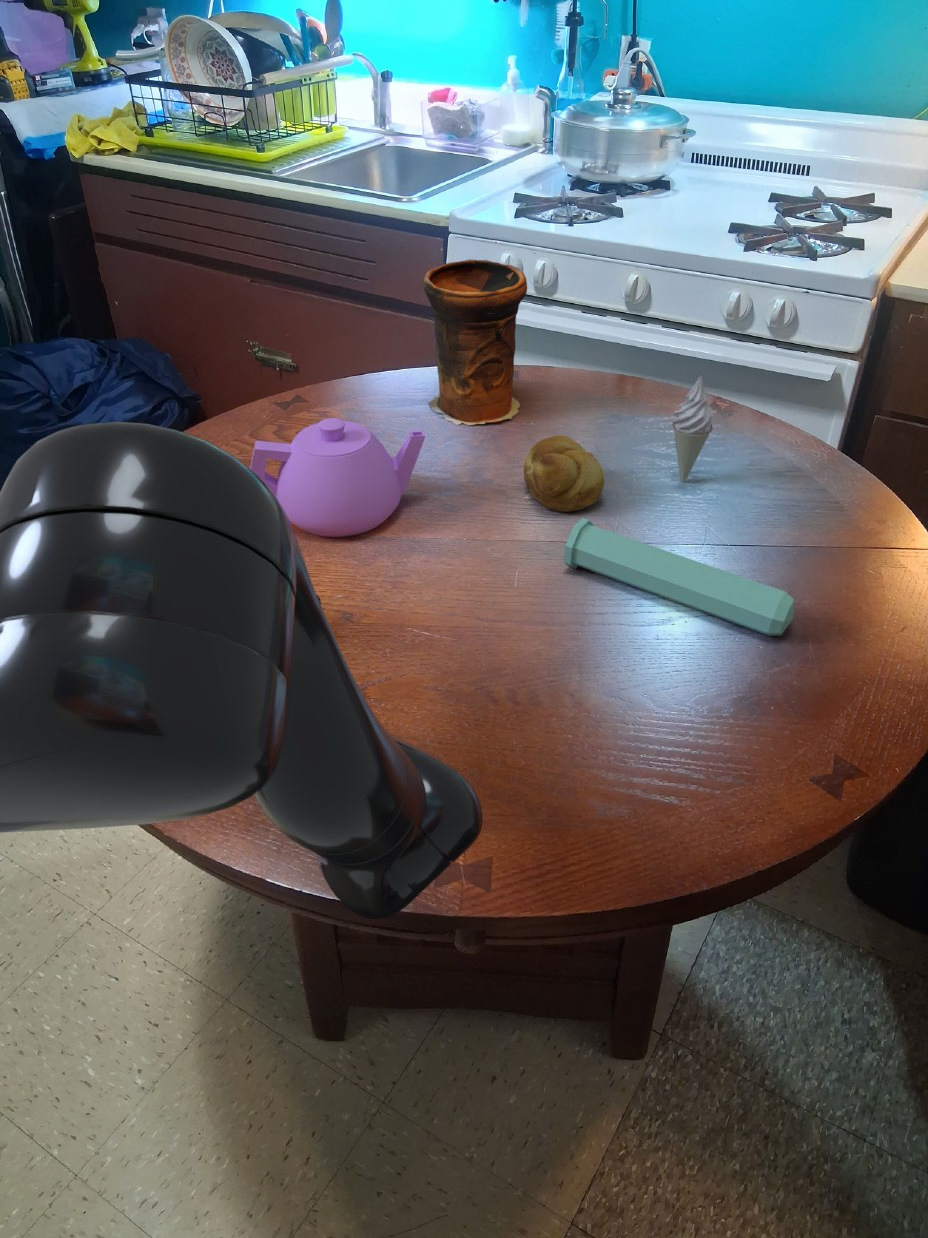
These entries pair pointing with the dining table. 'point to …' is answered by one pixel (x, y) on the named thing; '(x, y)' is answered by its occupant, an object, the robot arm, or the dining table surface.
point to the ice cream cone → (692, 427)
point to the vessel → (475, 338)
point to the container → (680, 579)
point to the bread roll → (563, 474)
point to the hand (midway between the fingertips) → (195, 580)
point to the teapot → (337, 477)
